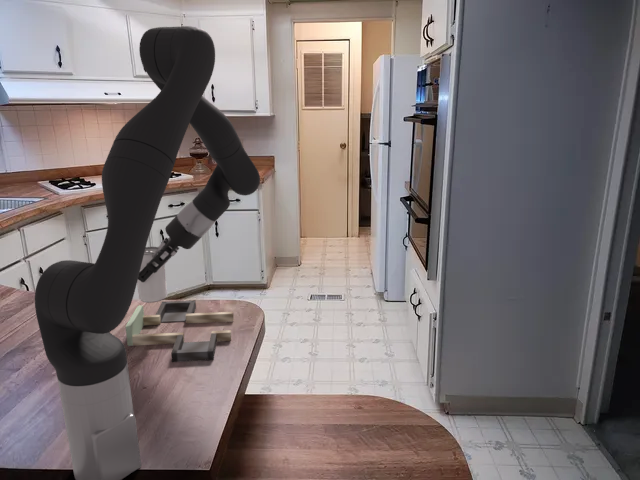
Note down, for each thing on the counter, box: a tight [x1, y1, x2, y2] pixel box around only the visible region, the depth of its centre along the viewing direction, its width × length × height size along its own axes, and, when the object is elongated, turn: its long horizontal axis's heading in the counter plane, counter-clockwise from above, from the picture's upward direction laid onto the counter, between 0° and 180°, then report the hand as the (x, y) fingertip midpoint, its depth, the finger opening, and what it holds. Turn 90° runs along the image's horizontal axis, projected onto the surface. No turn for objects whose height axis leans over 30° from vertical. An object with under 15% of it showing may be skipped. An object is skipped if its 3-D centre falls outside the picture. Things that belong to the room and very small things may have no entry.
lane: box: [126, 300, 235, 363], centre depth 112 cm, size 24×28×2 cm
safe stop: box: [125, 304, 145, 347], centre depth 111 cm, size 1×11×5 cm, turn 7°
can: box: [136, 246, 168, 304], centre depth 107 cm, size 6×6×12 cm
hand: (143, 273), depth 107 cm, fingers closed on can, 6 cm apart
